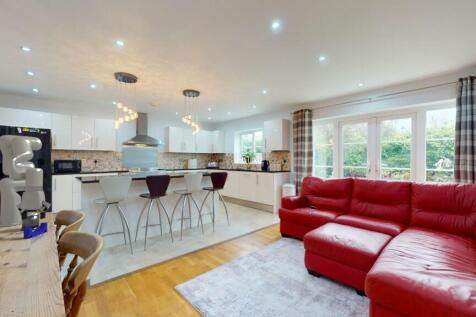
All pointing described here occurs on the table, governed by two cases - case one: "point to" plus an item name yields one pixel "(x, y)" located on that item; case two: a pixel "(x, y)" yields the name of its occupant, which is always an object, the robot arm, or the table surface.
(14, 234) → the table surface
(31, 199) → the robot arm
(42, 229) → the cable clip
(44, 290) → the table surface
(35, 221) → the motor
